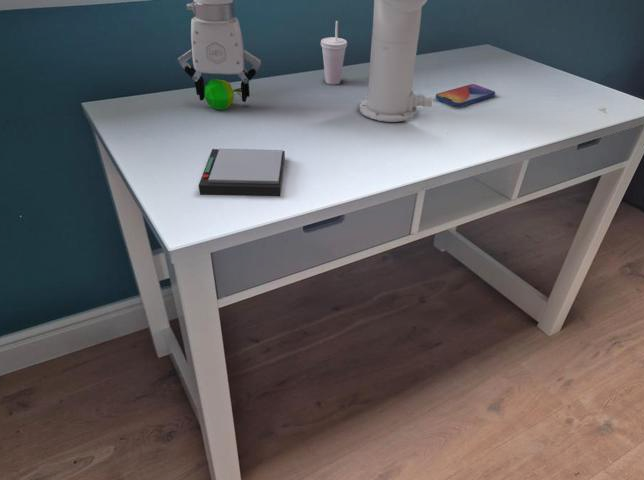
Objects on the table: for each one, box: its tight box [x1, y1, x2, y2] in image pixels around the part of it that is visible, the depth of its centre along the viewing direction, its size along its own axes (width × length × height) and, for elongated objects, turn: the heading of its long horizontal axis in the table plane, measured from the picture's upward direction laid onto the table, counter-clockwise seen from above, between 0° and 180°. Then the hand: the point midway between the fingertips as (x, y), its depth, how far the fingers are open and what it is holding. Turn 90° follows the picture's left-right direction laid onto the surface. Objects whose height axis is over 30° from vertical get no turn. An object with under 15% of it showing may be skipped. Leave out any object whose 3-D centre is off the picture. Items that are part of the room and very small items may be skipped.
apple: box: [204, 77, 242, 111], centre depth 108 cm, size 7×6×9 cm
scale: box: [198, 147, 286, 198], centre depth 86 cm, size 13×13×2 cm
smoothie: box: [319, 20, 348, 85], centre depth 120 cm, size 6×6×14 cm
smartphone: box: [435, 83, 496, 108], centre depth 120 cm, size 7×15×1 cm, turn 131°
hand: (223, 98), depth 109 cm, fingers open, 8 cm apart
